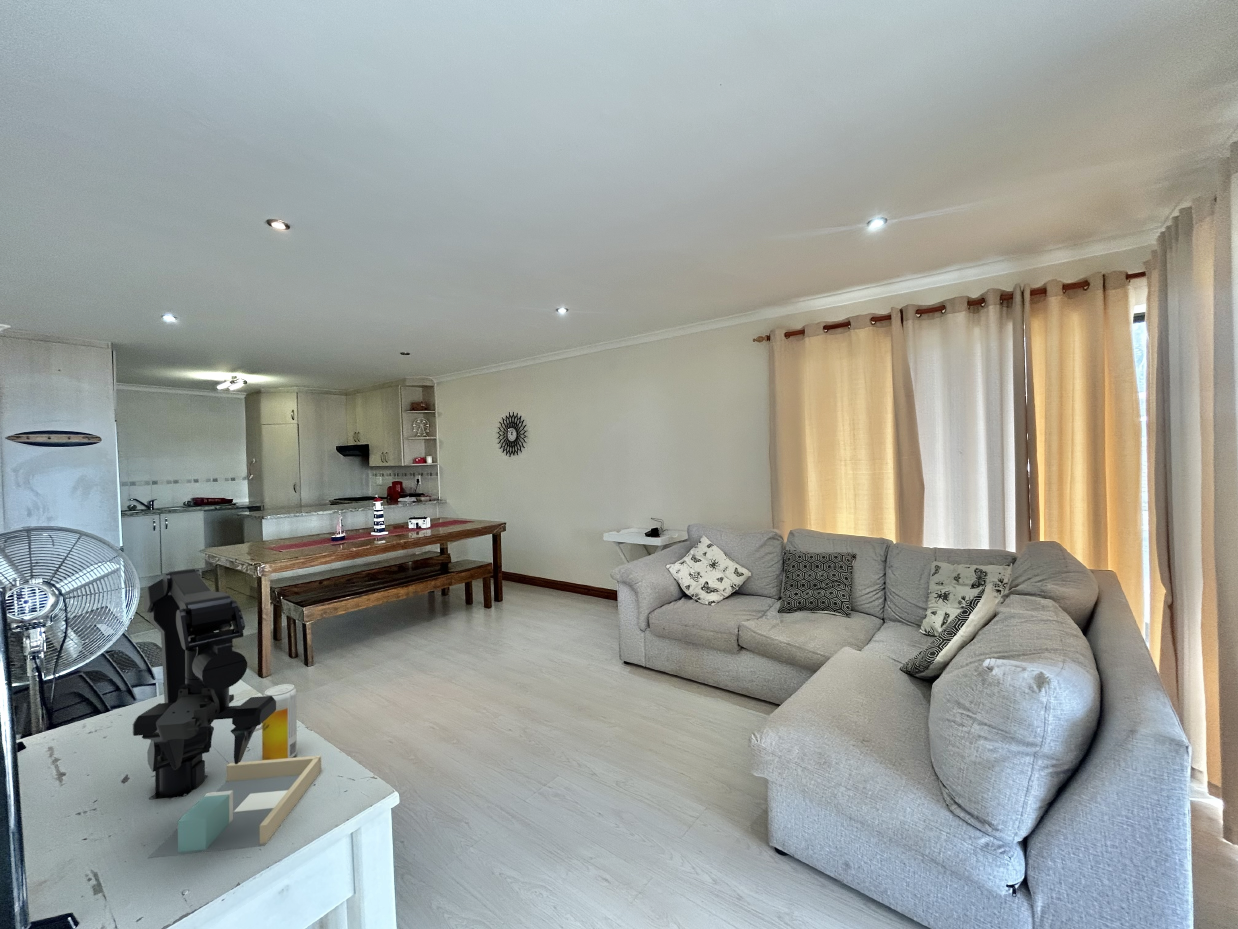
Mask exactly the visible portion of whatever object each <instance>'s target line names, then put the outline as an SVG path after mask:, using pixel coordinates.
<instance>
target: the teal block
mask: <svg viewBox="0 0 1238 929" xmlns="http://www.w3.org/2000/svg"><path fill="white" fill-rule="evenodd" d="M232 820H233V791H222V792H216V791H214V792H211V791H210V792H207V793H206V794H205V795H204V796H203V797H202V798H201V799H200V800H199V801H198V802H197V803H196V804H194V805H193V807H191V808H190V809H189V810H187V812H185V814H184V815H182V816H181V818H180V819H179V820H178V821H177V829H178V852H188V851H197V850H206V849H207V848H208V846H209V845H210V844H211V843H212V842H213V841H214V840H215V839H216V838H217V836H218V835H219V834H220V833H221V832H222V831H223V830H224V829H225V827H226V826H227V825H228V824H229V823H230V822H231V821H232Z"/></svg>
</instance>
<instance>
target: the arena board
mask: <svg viewBox="0 0 1238 929" xmlns="http://www.w3.org/2000/svg"><path fill="white" fill-rule="evenodd" d="M225 771H226V773H225V774H226V776H225V778H226V779H225V780H226V781H225V782H224V783H222V785H221V786H220V787H219V788H218V789H217V790H216V791H215V792H222V791H233V820H232V821H231V822H230V823H229V824H228V825H227V826H226V827H225V829H224V830H223V831H222V832H221V833H220V834H219V835H218V836H217V838H216V839H215V840H214V841H213V842H212V843H211V844H210V845H209V846H208V848H207V849H206V850H197V851H188V852H178V828H176V830H175V831H174V832H172V833H171V835H169V837H167V838H166V839H165V840H164V841H163V842H162V843H161V844H160V845H159V846H158V847H157V848H156V849H155V850H154V851H153V852H152V853H151V854H149V856H148V857H147V859H153V858H162V857H163V858H164V857H170V856H171V857H172V856H178V855H179V856H180V855H190V854H199V853H200V854H201V853H209V852H211V853H212V852H218V851H227V850H238V849H247V848H249V849H250V848H255V847H256V848H257V847H265V846H266V844H267V843H268V842H269V841H270V839H271V838H272V837H273V836H274V834H275V833H276V832H277V830H278V829H279V827H280V826H281V825H282V824H283V822H284V821H285V819H286V818H287V817H288V816H289V814H290V813H291V811H292V810H293V809H294V807H295V806H296V805H297V804H298V803H299V801H300V800H301V798H302V797H303V795H304V794H305V793H306V792H307V790H308V789H309V787H311V785H312V784H313V782H314V781H315V780H316V778H317V777H318V775H319V774H320V773H321V772H322V755H312V756H299V757H298V756H297V757H293V758H285V759H273V760H262V759H261V760H252V761H250V760H249V761H240V762H239V763H238V764H235V762H230V763H228V764H227V765H226V770H225Z"/></svg>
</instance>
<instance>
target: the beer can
mask: <svg viewBox="0 0 1238 929" xmlns="http://www.w3.org/2000/svg"><path fill="white" fill-rule="evenodd" d="M297 693H298V692H297V689H296V688H295V685H294V684H291V683H284V684H279V685H275V686H274V685H273V686H272V687H269V688H267V689H266V690H265V691H264V694H263V696H272V697H273V698H274V699H275V700H276V711H275V712H274V713H272V714H271V715H270V716H269V717H268V718H267V719H266V720H265V721H264V722H263V723H261V728H262V729H261V735H262V736H261V737H262V738H261V740H262V741H261V746H262V748H261V752H262V755H261V760H273V759H285V758H295V756H296V755H297V753H298V752H297V751H298V750H297V745H298V743H297V742H298V740H297V736H298V735H297V732H298V731H297V730H298V729H297V727H298V726H297V723H298V721H297V720H298V718H297V717H298V716H297V714H298V712H297V711H298V710H297V709H298V708H297V707H298V706H297V702H298V701H297V700H298V699H297V698H298V697H297V695H298V694H297Z"/></svg>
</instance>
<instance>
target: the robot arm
mask: <svg viewBox="0 0 1238 929" xmlns="http://www.w3.org/2000/svg"><path fill="white" fill-rule="evenodd" d="M201 575H202V574H201V570H200V569H199V568H196V569H195V568H193V567H192V568H188V569H179V570H172V571H169V572H166V573H165V572H164V574H163V576H162V578H161V579H160V580H158V581H156V582H154V583H152V584H151V585H149V586H148V587H147V588H146V592H145V594H144V598H143V608H144V612H145V614H148V621H149V623H150V624H151V625H152V626H154V627H155V629H157V631H158V632H159V633H160V639H161V644H160V645H161V660H162V662H161V663H162V678H163V681H162V682H163V683H162V684H163V698H164V702H162V703H161V702H160V703H157V704H156V705H154V706H152V707H151V708H149V709H148V710H146V711H144V712H143V713H141V714H139V715H138V716H137V717H136V718H135V719H134V721H133V723H132V735H133V736H134V737H139V736H141V738H142V739H143V740H150V741H149V742H150V743H149V746H148V749H147V754H146V755H147V765H148V766H149V768H150V771H151V772H152V773H154V775H155V776H154V777H155V778H154V784H155V785H154V786H155V787H154V788H155V789H154V791H155V792H154V793H153V794H152V795H151V796H150V797H148V800H159V799H161V800H162V799H171V798H181V797H186V796H188V795H189V794H190V793H192V791H194V790H195V789H197V788H198V787H199V786H200V785H201V784H202V783H204V782H205V780H206V779H207V778H208V777H209V775H205V774H206V770H205V769H206V767H205V766H206V763H205V762H206V761H205V760H204V759H203V755H204V754H207V753H210V749H211V748H212V739H213V734H214V730H215V727H214V726H213V725H212V724H213V722H214V721H216V720H217V721H218V720H227V719H228V720H229V719H231V724H232V726H234V727H233V728H232V729H231V730H230V733H231V734H232V735H233V737H234V749H233V759H234V760H233V761H234V762H233V763H235V764H238V763H239V762H242V759H243V757H244V756H245V755H244V754H245V752H246V750H247V748H248V746H249V743H250V741H251V738H252V737H253V734H254V732H255V730H256V728H257V727H258V726H260V725H262V723H263V722H264V721H265V720H266V719H267V718H268V717H269V716H270V715H271V714H272V713H274V712H275V711H276V700H275V699H274V698H273V697H272V696H264V695H262V696H251V697H249V698H248V699H247V700H245V701H244V702H242V703H241V704H240V705H239V704H238V705H230V703H232V702H233V701H234V700H235V695H234V694H230V687H233V686H235V685H236V684H238V683H239V682H240V681H241V680H242V679H243V677H244V676H245V674H246V672H247V669H248V661H247V659H246V656H245V655H244V654H242V653H241V652H240V651H238V650H237V649H235V647H234V645H233V640H234V639H240V638H244V631H245V628H246V624H245V619H244V616H243V612H242V609H241V606H240V605H238V601H237V600H236V599H233V596H231V595H230V594H228V593H226V592H223V591H213V590H212V589H211V588H210V586H208V584H207V583H206V582H205V581H204V579H203V578H202V576H201Z"/></svg>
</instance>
